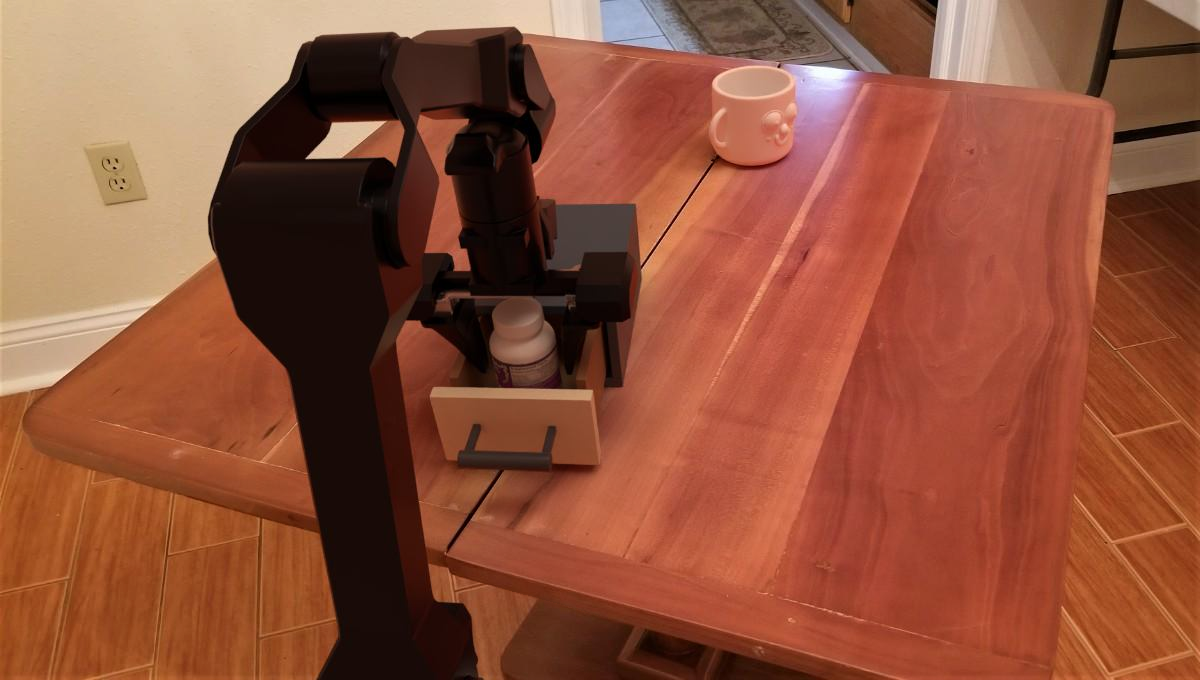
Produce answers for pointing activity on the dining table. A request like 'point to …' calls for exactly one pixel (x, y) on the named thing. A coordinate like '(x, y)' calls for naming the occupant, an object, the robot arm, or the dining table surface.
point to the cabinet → (577, 235)
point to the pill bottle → (524, 347)
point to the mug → (753, 114)
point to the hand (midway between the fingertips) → (527, 370)
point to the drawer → (523, 411)
